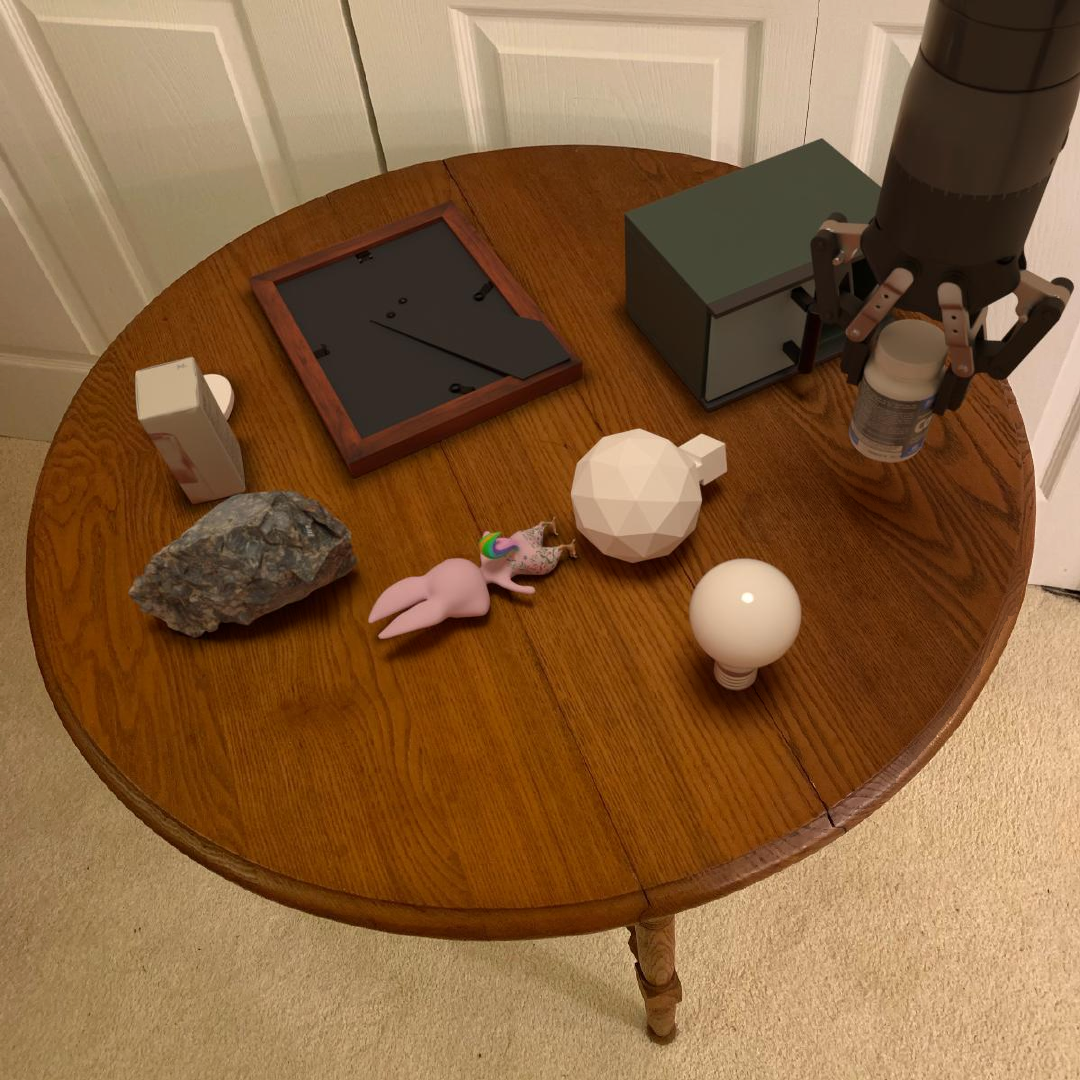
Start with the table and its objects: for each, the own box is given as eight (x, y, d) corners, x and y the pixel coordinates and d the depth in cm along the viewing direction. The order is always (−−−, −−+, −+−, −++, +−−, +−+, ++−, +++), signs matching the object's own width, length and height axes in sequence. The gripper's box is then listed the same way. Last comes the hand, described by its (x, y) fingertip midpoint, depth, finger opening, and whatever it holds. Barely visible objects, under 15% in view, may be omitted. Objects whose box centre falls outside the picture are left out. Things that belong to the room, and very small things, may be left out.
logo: (238, 426, 80) (229, 360, 85) (235, 420, 79) (226, 353, 84) (158, 447, 80) (153, 379, 84) (154, 440, 79) (150, 372, 83)
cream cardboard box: (186, 459, 79) (134, 367, 71) (241, 445, 79) (195, 353, 71) (189, 509, 76) (135, 419, 68) (246, 495, 76) (199, 404, 68)
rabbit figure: (539, 528, 74) (354, 611, 68) (544, 471, 69) (346, 555, 63) (587, 585, 70) (397, 678, 65) (595, 530, 66) (392, 625, 60)
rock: (198, 709, 66) (136, 633, 58) (143, 607, 71) (79, 524, 63) (383, 598, 70) (349, 512, 62) (318, 509, 75) (279, 419, 67)
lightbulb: (663, 676, 64) (667, 584, 55) (729, 616, 67) (743, 518, 58) (739, 741, 61) (756, 655, 52) (805, 676, 64) (832, 582, 55)
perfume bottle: (635, 608, 65) (763, 524, 70) (618, 492, 60) (757, 410, 65) (555, 556, 71) (677, 482, 76) (532, 447, 66) (665, 375, 71)
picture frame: (583, 377, 80) (454, 215, 94) (581, 359, 79) (450, 197, 92) (353, 478, 76) (253, 293, 90) (347, 461, 75) (246, 275, 88)
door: (825, 385, 77) (843, 301, 70) (729, 427, 75) (738, 345, 68) (799, 357, 79) (814, 273, 72) (704, 398, 77) (711, 315, 70)
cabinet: (900, 329, 81) (929, 226, 72) (707, 412, 77) (715, 314, 69) (805, 240, 88) (822, 137, 80) (625, 312, 84) (623, 212, 76)
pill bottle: (918, 471, 63) (952, 376, 56) (842, 456, 64) (866, 362, 57) (927, 417, 66) (960, 320, 59) (853, 404, 67) (878, 307, 60)
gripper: (801, 146, 49) (765, 391, 62) (1111, 228, 43) (997, 475, 57) (860, 69, 52) (814, 317, 66) (1154, 136, 47) (1036, 391, 61)
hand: (899, 390), depth 61 cm, fingers closed on pill bottle, 4 cm apart
